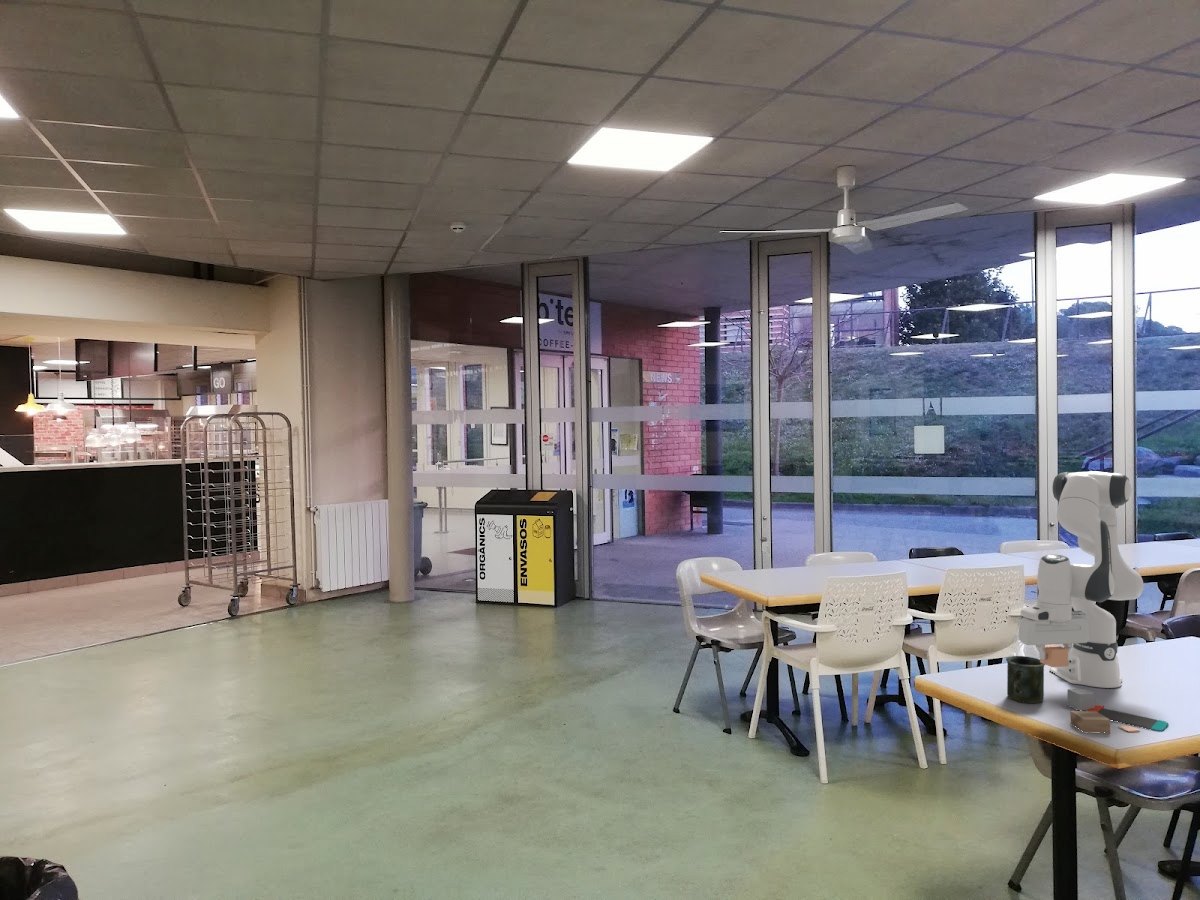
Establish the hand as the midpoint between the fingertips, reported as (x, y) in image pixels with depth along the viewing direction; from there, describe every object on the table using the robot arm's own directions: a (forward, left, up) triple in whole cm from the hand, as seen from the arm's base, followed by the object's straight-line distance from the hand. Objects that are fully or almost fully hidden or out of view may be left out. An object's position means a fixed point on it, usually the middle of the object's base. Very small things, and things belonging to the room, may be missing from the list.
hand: (1053, 658), depth 233 cm
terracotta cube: (0, 0, -2) cm, 2 cm away
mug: (-15, +2, -17) cm, 23 cm away
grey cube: (-6, +14, -17) cm, 23 cm away
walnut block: (+10, +4, -17) cm, 20 cm away
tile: (+12, +14, -17) cm, 25 cm away
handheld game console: (+4, +20, -18) cm, 27 cm away
